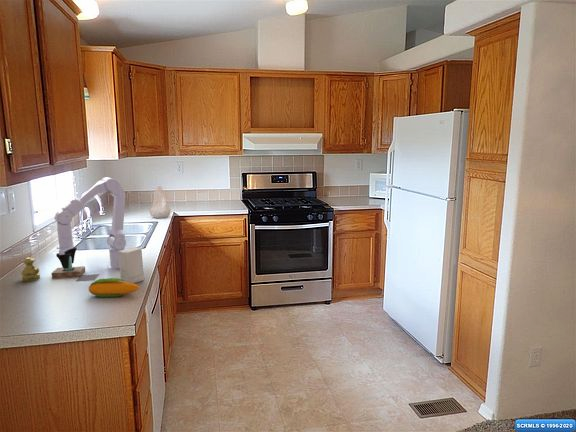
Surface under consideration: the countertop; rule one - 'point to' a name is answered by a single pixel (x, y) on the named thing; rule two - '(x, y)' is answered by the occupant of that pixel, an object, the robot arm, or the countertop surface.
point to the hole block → (68, 272)
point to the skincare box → (131, 265)
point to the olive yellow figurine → (29, 271)
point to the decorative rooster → (159, 204)
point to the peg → (69, 265)
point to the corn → (111, 287)
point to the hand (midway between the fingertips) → (68, 265)
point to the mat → (88, 277)
